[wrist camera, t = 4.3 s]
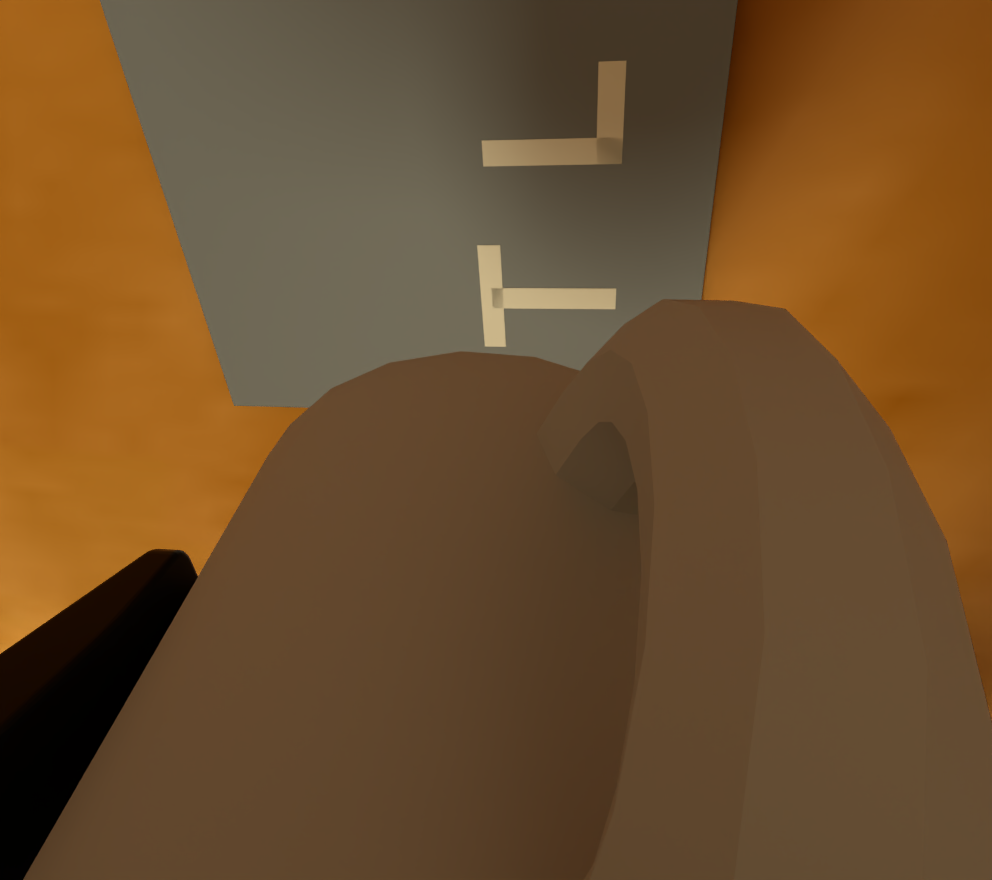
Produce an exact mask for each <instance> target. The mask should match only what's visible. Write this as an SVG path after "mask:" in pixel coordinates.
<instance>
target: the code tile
mask: <svg viewBox="0 0 992 880" xmlns="http://www.w3.org/2000/svg"><path fill="white" fill-rule="evenodd" d="M100 2H101V5H102V8H103V11H104V14H105V17H106V20H107V23H108V26H109V29H110V32H111V35H112V38H113V41H114V44H115V47H116V50H117V53H118V56H119V59H120V62H121V65H122V68H123V71H124V75H125V78H126V81H127V84H128V87H129V90H130V93H131V96H132V99H133V102H134V105H135V108H136V111H137V114H138V117H139V120H140V123H141V126H142V129H143V132H144V135H145V138H146V141H147V144H148V147H149V150H150V153H151V156H152V159H153V162H154V165H155V168H156V171H157V174H158V177H159V180H160V183H161V186H162V189H163V192H164V195H165V198H166V201H167V204H168V207H169V210H170V213H171V216H172V219H173V222H174V225H175V228H176V231H177V235H178V238H179V241H180V244H181V247H182V250H183V253H184V256H185V259H186V262H187V265H188V268H189V271H190V274H191V277H192V280H193V283H194V286H195V289H196V292H197V295H198V298H199V301H200V304H201V307H202V310H203V313H204V316H205V319H206V322H207V325H208V328H209V331H210V334H211V337H212V340H213V343H214V346H215V349H216V352H217V355H218V358H219V361H220V364H221V367H222V370H223V373H224V376H225V379H226V382H227V385H228V388H229V391H230V394H231V398H232V401H233V404H234V406H271V407H308V408H310V407H311V406H312V405H313V404H314V403H315V402H316V401H318V400H319V399H320V398H321V397H322V396H323V395H324V394H325V393H327V392H328V391H329V390H330V389H331V388H333V387H335V386H338V385H340V384H342V383H344V382H347V381H349V380H351V379H354V378H356V377H358V376H360V375H363V374H365V373H367V372H369V371H372V370H374V369H376V368H379V367H381V366H383V365H385V364H388V363H391V362H397V361H403V360H409V359H415V358H422V357H428V356H434V355H440V354H447V353H453V352H459V351H464V352H478V353H491V354H504V355H517V356H530V357H537V358H540V359H543V360H547V361H550V362H553V363H556V364H560V365H563V366H566V367H569V368H573V369H576V370H579V371H581V369H582V368H583V367H584V366H585V364H586V363H587V362H588V361H589V360H590V359H591V358H592V357H593V356H594V355H595V354H596V353H597V352H598V351H599V350H600V349H601V348H602V347H603V346H604V345H605V344H606V342H607V341H608V340H609V339H610V338H611V337H612V336H613V335H614V334H615V333H616V332H617V331H618V330H619V329H620V328H621V327H622V326H623V325H624V324H625V323H627V322H628V321H630V320H631V319H633V318H634V317H636V316H638V315H639V314H641V313H642V312H644V311H645V310H647V309H648V308H650V307H651V306H653V305H654V304H656V303H657V302H659V301H660V300H662V299H677V300H701V298H702V290H703V282H704V273H705V265H706V257H707V249H708V241H709V232H710V224H711V216H712V208H713V200H714V191H715V183H716V175H717V167H718V158H719V150H720V142H721V134H722V126H723V117H724V109H725V101H726V93H727V85H728V76H729V68H730V60H731V52H732V43H733V35H734V27H735V19H736V11H737V2H738V0H100Z"/></svg>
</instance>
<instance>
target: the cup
mask: <svg viewBox="0 0 992 880" xmlns="http://www.w3.org/2000/svg"><path fill="white" fill-rule="evenodd" d="M23 880H992V721H991V717H990V713H989V709H988V705H987V701H986V697H985V693H984V689H983V685H982V681H981V677H980V673H979V669H978V665H977V661H976V657H975V653H974V649H973V645H972V641H971V637H970V633H969V629H968V625H967V621H966V617H965V613H964V609H963V605H962V601H961V597H960V593H959V589H958V585H957V581H956V577H955V573H954V568H953V564H952V560H951V556H950V552H949V548H948V544H947V541H946V539H945V537H944V535H943V533H942V531H941V529H940V527H939V525H938V523H937V521H936V519H935V517H934V515H933V513H932V511H931V509H930V507H929V505H928V503H927V501H926V499H925V497H924V495H923V493H922V491H921V489H920V487H919V485H918V483H917V481H916V479H915V477H914V475H913V473H912V471H911V469H910V467H909V465H908V463H907V461H906V459H905V457H904V455H903V453H902V451H901V449H900V447H899V445H898V444H897V442H896V440H895V438H894V436H893V434H892V432H891V430H890V428H889V427H888V425H887V424H886V423H885V421H884V420H883V419H882V417H881V416H880V415H879V414H878V412H877V411H876V410H875V408H874V407H873V406H872V405H871V403H870V402H869V401H868V399H867V398H866V397H865V395H864V394H863V393H862V392H861V390H860V389H859V388H858V386H857V385H856V384H855V382H854V381H853V380H852V379H851V377H850V376H849V375H848V373H847V372H846V371H845V369H844V368H843V367H842V366H841V364H840V363H839V362H838V360H837V359H836V358H835V357H834V356H833V355H832V354H831V353H830V352H829V351H828V350H826V349H825V348H824V347H823V346H822V345H821V344H820V343H819V342H818V341H817V340H816V339H815V338H814V337H813V336H812V335H811V334H810V333H809V332H808V331H807V330H806V329H805V328H804V327H803V326H802V325H801V324H800V323H799V322H798V321H797V320H796V319H795V318H794V317H793V316H792V315H791V314H790V313H789V312H788V311H787V310H786V309H783V308H776V307H770V306H764V305H757V304H751V303H745V302H738V301H720V300H677V299H662V300H660V301H659V302H657V303H656V304H654V305H653V306H651V307H650V308H648V309H647V310H645V311H644V312H642V313H641V314H639V315H638V316H636V317H634V318H633V319H631V320H630V321H628V322H627V323H625V324H624V325H623V326H622V327H621V328H620V329H619V330H618V331H617V332H616V333H615V334H614V335H613V336H612V337H611V338H610V339H609V340H608V341H607V342H606V344H605V345H604V346H603V347H602V348H601V349H600V350H599V351H598V352H597V353H596V354H595V355H594V356H593V357H592V358H591V359H590V360H589V361H588V362H587V363H586V364H585V366H584V367H583V368H582V369H581V371H579V370H576V369H573V368H569V367H566V366H563V365H560V364H556V363H553V362H550V361H547V360H543V359H540V358H537V357H530V356H517V355H504V354H491V353H478V352H464V351H459V352H453V353H447V354H440V355H434V356H428V357H422V358H415V359H409V360H403V361H397V362H391V363H388V364H385V365H383V366H381V367H379V368H376V369H374V370H372V371H369V372H367V373H365V374H363V375H360V376H358V377H356V378H354V379H351V380H349V381H347V382H344V383H342V384H340V385H338V386H335V387H333V388H331V389H330V390H329V391H328V392H327V393H325V394H324V395H323V396H322V397H321V398H320V399H319V400H318V401H316V402H315V403H314V404H313V405H312V406H311V407H310V408H308V409H307V410H306V411H305V412H304V413H303V414H302V415H301V416H299V417H298V418H297V419H296V420H295V421H294V422H293V423H292V424H290V426H289V427H288V428H287V430H286V431H285V433H284V434H283V435H282V437H281V438H280V440H279V441H278V442H277V444H276V445H275V447H274V448H273V449H272V451H271V452H270V454H269V455H268V457H267V458H266V460H265V462H264V464H263V465H262V467H261V469H260V470H259V472H258V474H257V476H256V477H255V479H254V481H253V483H252V484H251V486H250V488H249V489H248V491H247V493H246V495H245V496H244V498H243V500H242V502H241V503H240V505H239V507H238V509H237V510H236V512H235V514H234V515H233V517H232V519H231V521H230V522H229V524H228V526H227V528H226V529H225V531H224V533H223V534H222V536H221V538H220V540H219V541H218V543H217V545H216V547H215V548H214V550H213V552H212V554H211V555H210V557H209V559H208V560H207V562H206V564H205V566H204V567H203V569H202V571H201V573H200V574H199V576H198V578H197V579H196V581H195V583H194V585H193V586H192V588H191V590H190V592H189V593H188V595H187V597H186V599H185V600H184V602H183V604H182V605H181V607H180V609H179V611H178V612H177V614H176V616H175V618H174V619H173V621H172V623H171V625H170V626H169V628H168V630H167V631H166V633H165V635H164V637H163V638H162V640H161V642H160V644H159V645H158V647H157V649H156V650H155V652H154V654H153V656H152V657H151V659H150V661H149V663H148V664H147V666H146V668H145V670H144V671H143V673H142V675H141V676H140V678H139V680H138V682H137V683H136V685H135V687H134V689H133V690H132V692H131V694H130V695H129V697H128V699H127V701H126V702H125V704H124V706H123V708H122V709H121V711H120V713H119V715H118V716H117V718H116V720H115V721H114V723H113V725H112V727H111V728H110V730H109V732H108V734H107V735H106V737H105V739H104V740H103V742H102V744H101V746H100V747H99V749H98V751H97V753H96V754H95V756H94V758H93V760H92V761H91V763H90V765H89V766H88V768H87V770H86V772H85V773H84V775H83V777H82V779H81V780H80V782H79V784H78V786H77V787H76V789H75V791H74V792H73V794H72V796H71V798H70V799H69V801H68V803H67V805H66V806H65V808H64V810H63V811H62V813H61V815H60V817H59V818H58V820H57V822H56V824H55V825H54V827H53V829H52V831H51V832H50V834H49V836H48V837H47V839H46V841H45V843H44V844H43V846H42V848H41V850H40V851H39V853H38V855H37V856H36V858H35V860H34V862H33V863H32V865H31V867H30V869H29V870H28V872H27V874H26V876H25V877H24V879H23Z"/></svg>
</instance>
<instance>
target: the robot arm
mask: <svg viewBox="0 0 992 880" xmlns="http://www.w3.org/2000/svg"><path fill="white" fill-rule="evenodd" d="M197 578H198V576H197V573H196V571H195V569H194V566H193V564H192V562H191V560H190V558H189V556H188V555H187V554H186V553H185V552H184V551H181V550H169V549H154V550H151V551H148V552H147V553H145V554H144V555H142V556H141V557H139V558H138V559H136V560H135V561H133V562H132V563H131V564H129V565H128V566H126V567H125V568H123V569H122V570H121V571H119V572H118V573H116V574H115V575H113V576H112V577H110V578H109V579H108V580H106V581H105V582H103V583H102V584H100V585H99V586H97V587H96V588H95V589H93V590H92V591H90V592H89V593H87V594H86V595H84V596H83V597H82V598H80V599H79V600H77V601H76V602H74V603H73V604H72V605H70V606H69V607H67V608H66V609H64V610H63V611H61V612H60V613H59V614H57V615H56V616H54V617H53V618H51V619H50V620H48V621H47V622H46V623H44V624H43V625H41V626H40V627H38V628H37V629H35V630H34V631H33V632H31V633H30V634H28V635H27V636H25V637H24V638H23V639H21V640H20V641H18V642H17V643H15V644H14V645H12V646H11V647H10V648H8V649H7V650H5V651H4V652H2V653H1V654H0V880H23V879H24V877H25V876H26V874H27V872H28V870H29V869H30V867H31V865H32V863H33V862H34V860H35V858H36V856H37V855H38V853H39V851H40V850H41V848H42V846H43V844H44V843H45V841H46V839H47V837H48V836H49V834H50V832H51V831H52V829H53V827H54V825H55V824H56V822H57V820H58V818H59V817H60V815H61V813H62V811H63V810H64V808H65V806H66V805H67V803H68V801H69V799H70V798H71V796H72V794H73V792H74V791H75V789H76V787H77V786H78V784H79V782H80V780H81V779H82V777H83V775H84V773H85V772H86V770H87V768H88V766H89V765H90V763H91V761H92V760H93V758H94V756H95V754H96V753H97V751H98V749H99V747H100V746H101V744H102V742H103V740H104V739H105V737H106V735H107V734H108V732H109V730H110V728H111V727H112V725H113V723H114V721H115V720H116V718H117V716H118V715H119V713H120V711H121V709H122V708H123V706H124V704H125V702H126V701H127V699H128V697H129V695H130V694H131V692H132V690H133V689H134V687H135V685H136V683H137V682H138V680H139V678H140V676H141V675H142V673H143V671H144V670H145V668H146V666H147V664H148V663H149V661H150V659H151V657H152V656H153V654H154V652H155V650H156V649H157V647H158V645H159V644H160V642H161V640H162V638H163V637H164V635H165V633H166V631H167V630H168V628H169V626H170V625H171V623H172V621H173V619H174V618H175V616H176V614H177V612H178V611H179V609H180V607H181V605H182V604H183V602H184V600H185V599H186V597H187V595H188V593H189V592H190V590H191V588H192V586H193V585H194V583H195V581H196V579H197Z"/></svg>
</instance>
